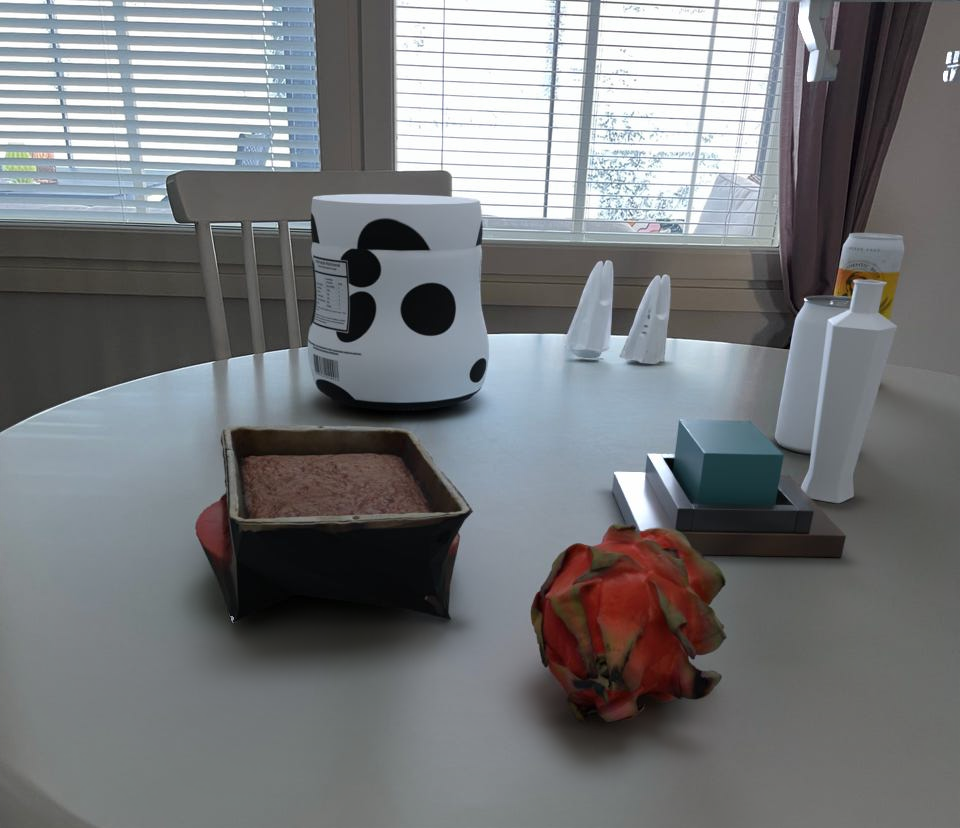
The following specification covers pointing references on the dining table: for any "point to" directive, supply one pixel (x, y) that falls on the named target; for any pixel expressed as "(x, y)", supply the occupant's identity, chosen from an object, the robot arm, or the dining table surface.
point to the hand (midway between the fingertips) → (889, 81)
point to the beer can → (871, 265)
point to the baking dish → (332, 519)
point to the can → (805, 372)
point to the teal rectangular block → (726, 463)
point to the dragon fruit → (629, 621)
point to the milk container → (397, 300)
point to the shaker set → (596, 313)
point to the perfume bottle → (848, 391)
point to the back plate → (727, 516)
